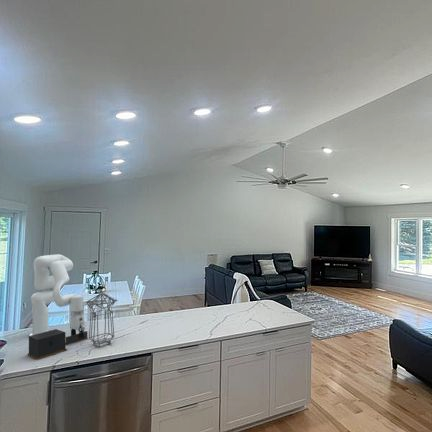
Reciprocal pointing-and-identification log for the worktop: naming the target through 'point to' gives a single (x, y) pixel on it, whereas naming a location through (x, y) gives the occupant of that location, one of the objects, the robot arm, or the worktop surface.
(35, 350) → the wood-trimmed dark box
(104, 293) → the geometric lantern
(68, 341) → the brown angular bar frame
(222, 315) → the worktop surface
